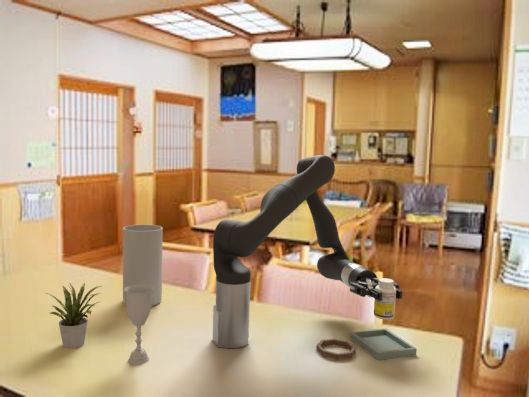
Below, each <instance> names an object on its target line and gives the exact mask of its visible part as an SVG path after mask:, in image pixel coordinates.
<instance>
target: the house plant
mask: <svg viewBox="0 0 529 397" xmlns="http://www.w3.org/2000/svg"><path fill="white" fill-rule="evenodd" d="M85 286H86V283H85V282H84V283H83V284H82V285H81V286H80V289H79V292H78V293H76V289H75V287H74V286H73V285H72V284H71V283H69V288H70V291H69V290H68V289H67V287H66V286H64V285H62V290H63V295H64V300H65V302H64V303H63V302H62V301H61V300H60V299H58V298H57V297H56V296H55V295H52V294H50V293H48V292H45V294H46V295H49V296H51V297H53V298H54V299H55V300H56V302H57V303H59V304H60V306H61V307H62V308H63V310H62V309H61V308H59V307H58V306H56V305H53V304H52V305H51V307H52V308H54V309H55V310H56V311H57V312H56V311H51V312H49V314H50V315H55V316H57V317H59V318H61V320H60V321H58V327H59V331H60V333H59V334H60V337H61V343H62V347H64V348H65V349H77V348H81V347H83V346H84V345H85V340H86V336H87V335H86V334H87V328H88V322H89V318H88V315H87V314H89V315H90V316H91V315H92V312H93V311H92V310H90V309H91V308H93V306H94V307H96V304H98V303H100V301H97V302H94V303H93V304H91V303H89V302H90V301H91V300H92V298H93V297H96V296H97V295H99V294H101V293H100V292H99V293H98V292H96V293H93V294H91V293H92V292H93V291H95V290H96V289H99V288H101V287H102V285H100V286H99V285H98V286H95V287H93V288H92V289H90V290H89V291H88V292H87V293H86V294H85V295H84V292H85ZM83 295H84V297H83ZM82 298H83V299H82ZM86 300H87V301H86ZM84 303H85V304H84ZM86 308H87V309H86ZM85 309H86V311H84V310H85ZM64 311H65V312H64ZM83 311H84V312H83ZM82 345H83V346H82Z"/></svg>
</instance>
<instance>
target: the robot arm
mask: <svg viewBox="0 0 529 397" xmlns="http://www.w3.org/2000/svg"><path fill="white" fill-rule="evenodd" d="M335 168H336V165H335V162H334V160H333V159H332V158H331V157H330V156H329V155H325V154H318V155H317V154H316V155H312V156H307V157H303V158H300V160H299V161H298V162H297V165H296V174H295V175H294V176H291V177H289V178H286V179H284V180H282V181H281V182H279V183H277V184H276V185H274V186H273V187H272V188H270V190H268V191H267V192H266V193H265V194H264V195H263V197H262V199H261V202H260V211H259V213H258V214H257V215H255V216H254V217H253V218H251V219H250V220H248V221H240V220H235V219H223V220H220V221H219V222H218V223H217V225H216V227H215V229H214V232H213V238H212V240H213V241H212V252H213V254H212V256H213V257H212V258H213V270H214V273H215V277H216V278H215V281H216V282H215V304H214V305H213V306H212V307H213V309H212V310H213V311H212V313H213V314H212V340H213V342H214V343H215V345H216V347H217V348H227V349H235V348H236V349H237V348H238V349H239V348H242V347H245V346H247V345H248V344H249V337H250V336H249V335H250V332H249V331H250V305H251V304H250V303H251V283H252V282H251V281H252V278H251V277H252V272H251V270H250V268H248V266H246V265H245V264H244V263H243V262H242V261H241V260H240V258H246V257H250V256H251V255H252V254H254V253H255V252H256V251H257V250H258V249H259V247H260V246H261V245H262V244H263V242H264V241H265V240H266V239H267V238H268V236H269V235H270V234H271V233H272V232H273V231H274V230H275V229H276V228H277V227H278V226H279V225H280V224H282V222H283V221H284V220H286V219H287V218H288V217H289V216H290V215H291V214H292V213H293V212H294V211H296V209H297V208H298V207H299V206H301V205H302V204H303V203H304V202H305V201H306V204H307V206H308V209H309V212H310V215H311V219H312V220H313V225H314V230H315V233H316V234H315V235H316V240H317V243H318V246H319V248H321V249H332V250H333V252H331V253H328V254H325V255H322V256H320V257H319V258H318V260H317V262H316V267H317V268H316V269H317V270H318V272H319V274H320V275H321V276H323V277H324V278H325V279H329V280H334V281H340V282H342V283H343V284H345V285H346V287H348V288H349V292H351V293H353V294H355V295H358V296H359V297H362V298H365V297H366V296H367V297H368V298H373V299H374V300H375V299H376V300H378V301H381V300H382V293H381V292H379V291H378V290H376V289H375V287H376V286H377V285H378V283H379V279H380V278H379V277H378V276H377V274H376V273H375V272H374V271H373V270H371V269H369V268H367V267H365V266H363V265H361V264H359V263H356V262H354V261H351V260H350V259H349V257H348V256H349V255H348V253H346V251H345V249H344V246H343V244H342V242H341V240H340V236H339V231H338V227H337V226H338V225H337V222H336V219H335V217H334V215H333V213H332V212H331V211H330V209H329V208H328V206H327V205H326V204H325V203H324V201H323V200H322V197H321V196H320V195H319V192H318V189H320V188H322V187H323V186H325V185H327V184H328V183H330V181H331V180H332V179H333V177H334V175H335V171H336V170H335ZM393 281H394V287H395V288H396V299H398V300H401V299H402V298H403V291H402V290H400V284H398V283H397V282H396V281H395V280H393Z"/></svg>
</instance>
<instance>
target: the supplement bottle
mask: <svg viewBox="0 0 529 397" xmlns="http://www.w3.org/2000/svg"><path fill="white" fill-rule="evenodd" d="M378 279H379V283H378V285H377V286H376V287H375V289H376V290H378V291H379V292H381V293H382V300H381V301H378V300H376V299H375V298H374V304H373V316H374V317H376V318H377V319H380V320H385V321H386V320H388V321H389V320H392V319H394V318H395V315H396V314H395V313H396V302H397V301H396V299H397V298H396V288H395V287H394V281H395V280H393V279H391V278H386V277H382V278H378Z"/></svg>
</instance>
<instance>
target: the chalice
mask: <svg viewBox="0 0 529 397" xmlns="http://www.w3.org/2000/svg"><path fill="white" fill-rule="evenodd" d="M153 289H154V287H153V286H151V285H146V284H136V285H131V286H128V287H126V288H125V289H124V290H125V292H126V294H127V305H126V307H125V308H126V312H127V315H128V318H130V322H131V323H132V325H133V326H135V327H136V332H135V335H136V339H135V343H136V347H135V349H133V350H132V351H131V353H130V355H129V358H128V359H127V363H129V364H131V365H143V364H146V363H147V362H148V361H150V358H149V355H148V353H147V351H146V349H145V348H143V347H142V346H141V344H142V342H143V339H142V337H141V336H142V334H143V332H142V329H141V328H142V326H144V325H145V324H146V322H147V321H148V318H149V316H150V313H151V309H152V306H151V294H152V291H153Z"/></svg>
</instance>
